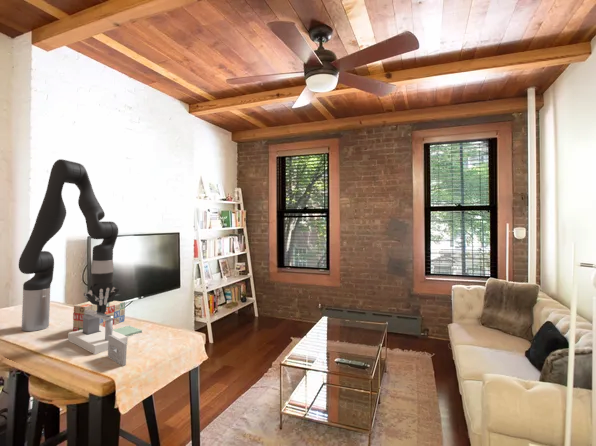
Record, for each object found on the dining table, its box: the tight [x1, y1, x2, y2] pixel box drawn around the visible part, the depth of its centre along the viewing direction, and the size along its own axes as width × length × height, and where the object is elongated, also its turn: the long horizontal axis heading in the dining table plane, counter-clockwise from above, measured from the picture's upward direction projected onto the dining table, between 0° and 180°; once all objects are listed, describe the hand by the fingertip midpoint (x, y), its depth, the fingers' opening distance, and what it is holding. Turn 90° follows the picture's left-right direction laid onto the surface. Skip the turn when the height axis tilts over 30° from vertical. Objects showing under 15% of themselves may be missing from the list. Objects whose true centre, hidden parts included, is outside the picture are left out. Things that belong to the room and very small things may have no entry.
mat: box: [113, 325, 143, 337], centre depth 138 cm, size 10×10×1 cm
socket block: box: [67, 320, 129, 355], centre depth 126 cm, size 21×12×10 cm, turn 58°
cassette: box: [107, 335, 128, 367], centre depth 111 cm, size 12×2×8 cm, turn 53°
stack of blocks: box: [72, 300, 126, 332], centre depth 144 cm, size 21×6×12 cm, turn 164°
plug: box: [83, 314, 100, 335], centre depth 129 cm, size 4×4×10 cm
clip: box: [84, 309, 113, 321], centre depth 125 cm, size 16×3×1 cm, turn 62°
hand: (101, 313), depth 129 cm, fingers closed
